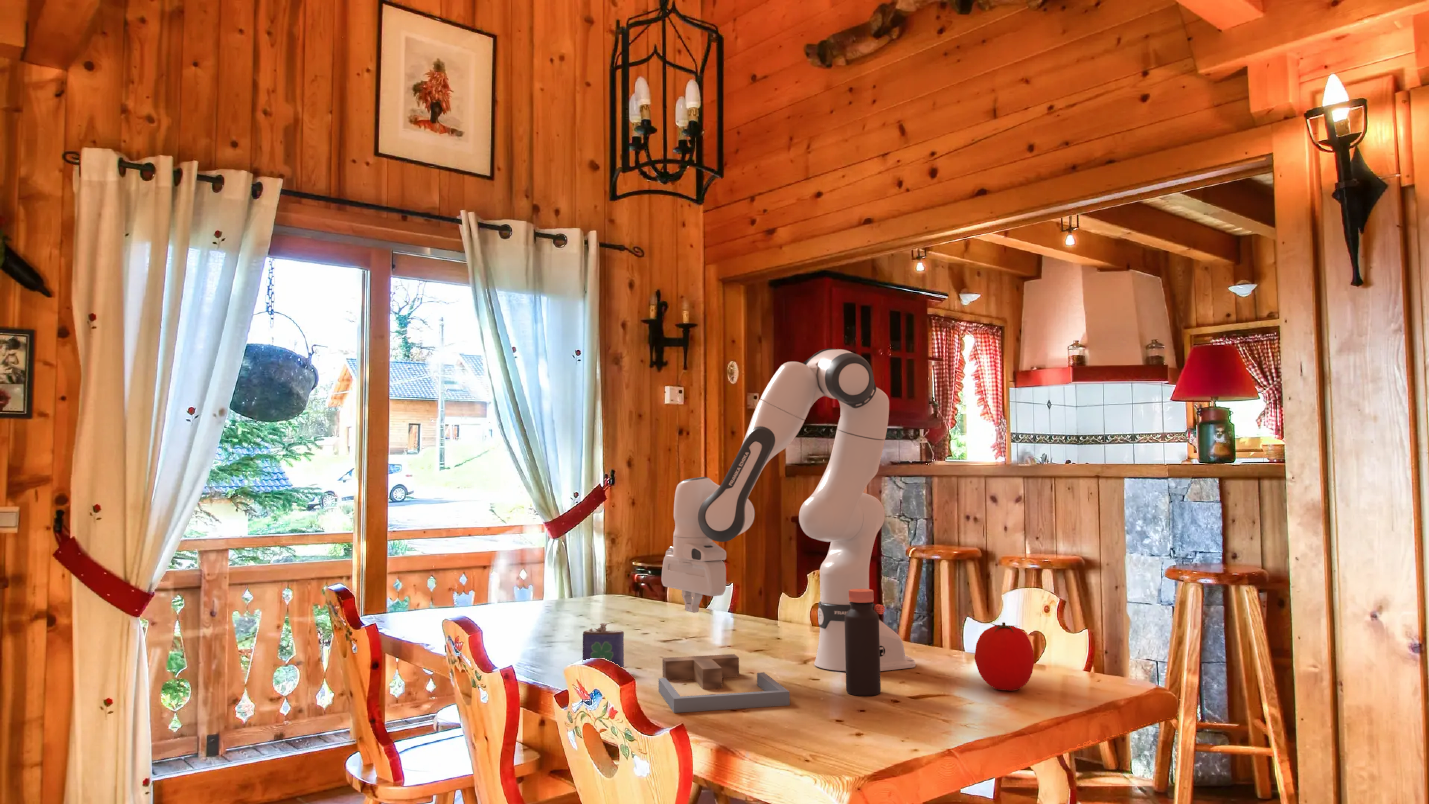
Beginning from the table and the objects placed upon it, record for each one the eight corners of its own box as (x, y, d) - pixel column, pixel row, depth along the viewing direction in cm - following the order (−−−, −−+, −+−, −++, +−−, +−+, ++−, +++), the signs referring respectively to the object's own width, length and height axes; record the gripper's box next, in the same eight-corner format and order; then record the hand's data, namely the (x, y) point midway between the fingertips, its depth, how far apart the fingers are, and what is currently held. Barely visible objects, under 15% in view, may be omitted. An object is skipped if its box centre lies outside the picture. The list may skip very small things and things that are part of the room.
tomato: (1050, 691, 184) (1047, 623, 185) (1006, 699, 178) (1003, 629, 179) (1004, 680, 194) (1002, 616, 195) (961, 688, 188) (959, 621, 189)
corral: (764, 684, 193) (764, 672, 193) (789, 705, 176) (789, 691, 176) (658, 691, 188) (658, 678, 189) (673, 712, 171) (673, 698, 171)
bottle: (840, 690, 187) (838, 588, 189) (872, 687, 189) (869, 587, 191) (854, 697, 181) (851, 592, 183) (886, 695, 183) (884, 591, 184)
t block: (734, 672, 206) (734, 654, 206) (750, 686, 192) (750, 666, 192) (662, 676, 202) (662, 657, 203) (673, 691, 189) (673, 670, 189)
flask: (624, 670, 209) (624, 621, 210) (622, 673, 206) (622, 623, 207) (583, 670, 210) (583, 622, 210) (581, 673, 207) (580, 624, 207)
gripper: (655, 546, 217) (654, 606, 216) (708, 554, 201) (707, 619, 200) (677, 545, 221) (676, 604, 220) (731, 552, 204) (730, 616, 204)
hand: (691, 611), depth 210 cm, fingers closed
